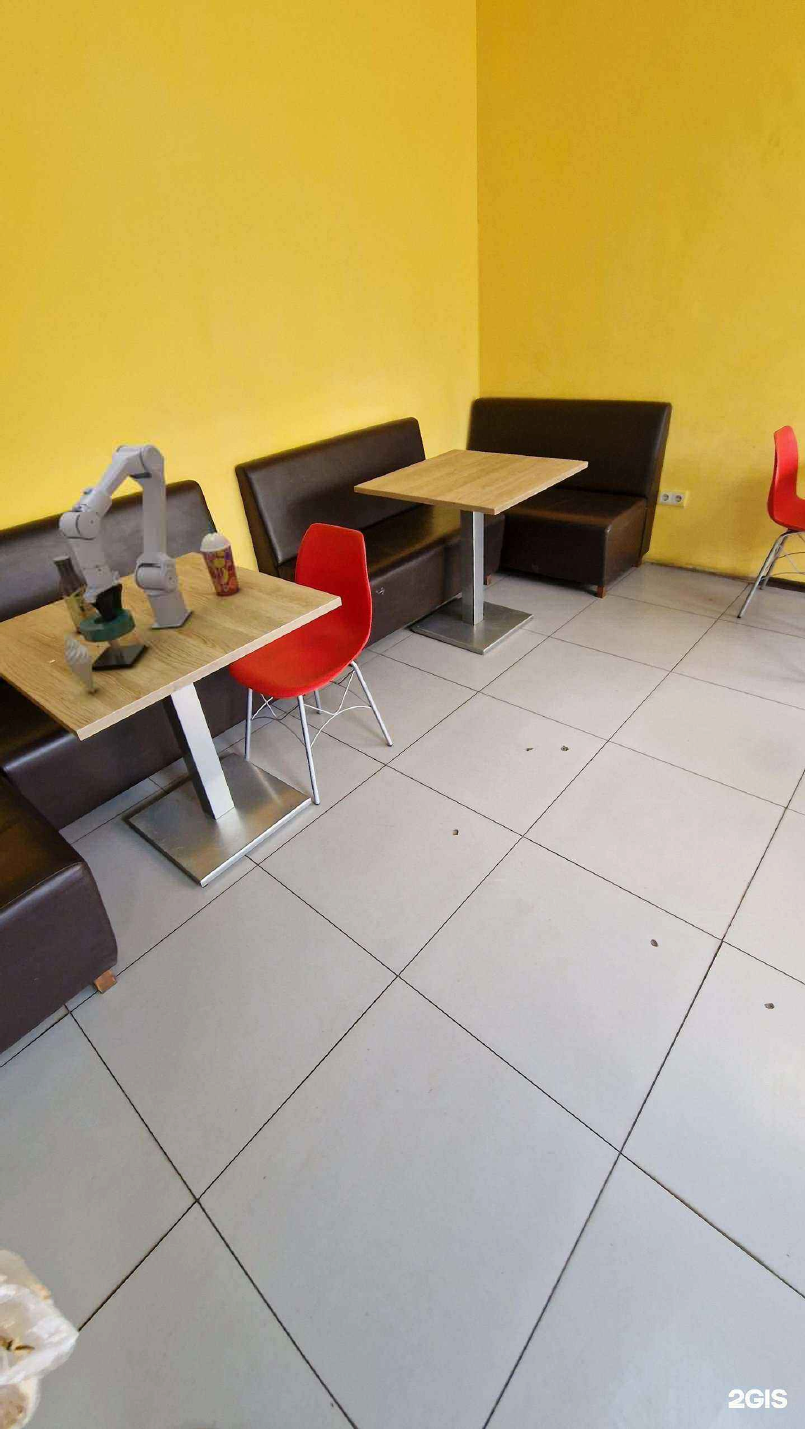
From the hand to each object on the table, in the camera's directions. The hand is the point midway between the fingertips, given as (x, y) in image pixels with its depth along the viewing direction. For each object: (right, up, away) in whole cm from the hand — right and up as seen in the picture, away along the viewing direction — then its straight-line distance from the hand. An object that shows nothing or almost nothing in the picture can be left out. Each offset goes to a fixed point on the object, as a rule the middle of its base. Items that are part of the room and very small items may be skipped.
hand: (114, 618), depth 152 cm
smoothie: (+19, +13, +32) cm, 39 cm away
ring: (0, -3, -3) cm, 4 cm away
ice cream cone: (0, -18, -11) cm, 21 cm away
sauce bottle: (-16, 0, +20) cm, 25 cm away
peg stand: (+1, -10, +1) cm, 10 cm away
